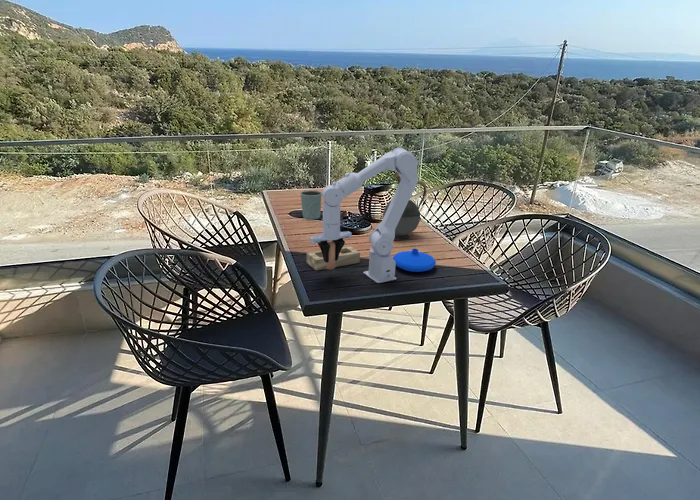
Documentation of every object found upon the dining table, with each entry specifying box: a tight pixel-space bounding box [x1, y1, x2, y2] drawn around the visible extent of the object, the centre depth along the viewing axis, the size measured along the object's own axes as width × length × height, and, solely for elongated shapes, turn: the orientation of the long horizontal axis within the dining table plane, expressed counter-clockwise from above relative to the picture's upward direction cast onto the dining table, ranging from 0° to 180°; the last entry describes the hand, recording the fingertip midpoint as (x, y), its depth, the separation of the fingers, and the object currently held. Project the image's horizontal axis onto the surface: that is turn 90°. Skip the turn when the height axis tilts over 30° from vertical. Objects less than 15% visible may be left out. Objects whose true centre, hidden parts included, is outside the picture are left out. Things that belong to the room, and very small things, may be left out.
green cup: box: [300, 190, 323, 220], centre depth 218 cm, size 10×10×12 cm
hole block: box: [306, 245, 361, 271], centre depth 166 cm, size 8×18×4 cm, turn 119°
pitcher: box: [382, 173, 428, 240], centre depth 193 cm, size 11×19×30 cm, turn 112°
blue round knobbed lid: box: [392, 248, 437, 273], centre depth 165 cm, size 16×16×7 cm
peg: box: [326, 241, 336, 270], centre depth 152 cm, size 3×3×9 cm
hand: (330, 260), depth 152 cm, fingers closed on peg, 3 cm apart
